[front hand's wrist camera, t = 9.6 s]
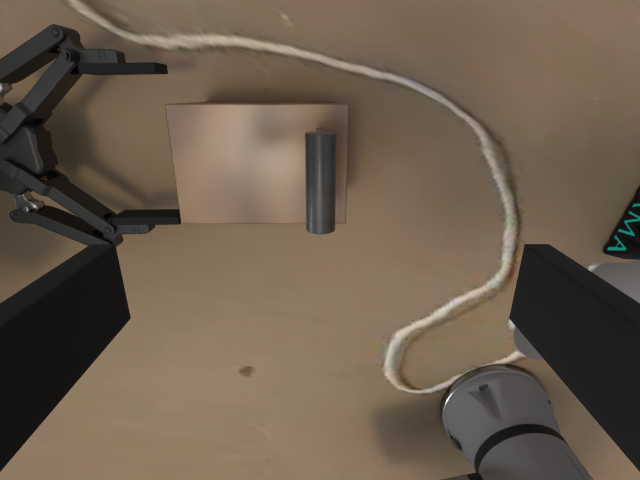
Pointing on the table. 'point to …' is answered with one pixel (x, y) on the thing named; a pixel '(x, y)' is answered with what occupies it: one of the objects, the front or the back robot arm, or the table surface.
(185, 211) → the lid
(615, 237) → the decorative sign
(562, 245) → the table surface
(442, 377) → the table surface
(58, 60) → the back robot arm
